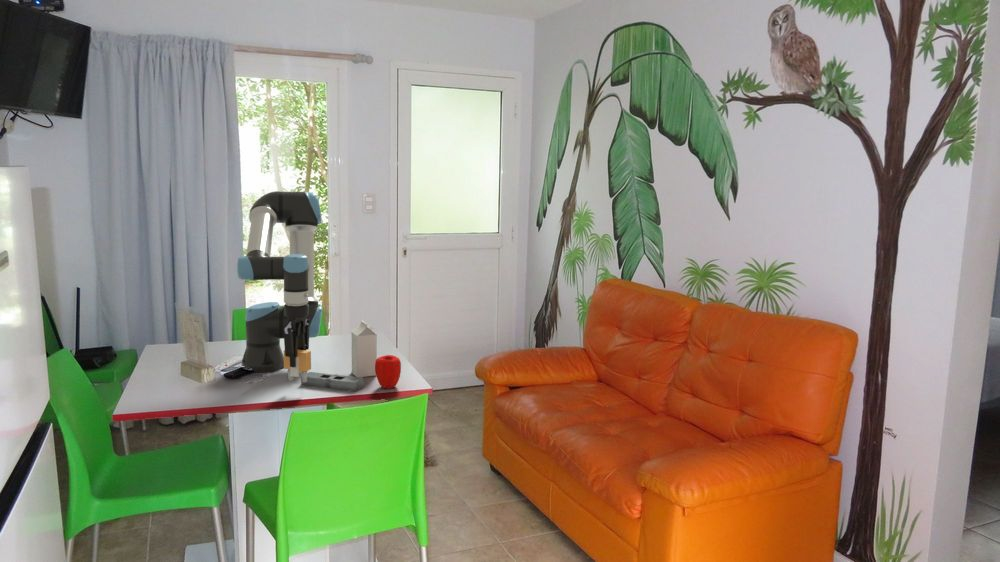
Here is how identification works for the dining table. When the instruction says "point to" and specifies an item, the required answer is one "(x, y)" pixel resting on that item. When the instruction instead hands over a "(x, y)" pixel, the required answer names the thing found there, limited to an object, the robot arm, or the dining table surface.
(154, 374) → the dining table surface
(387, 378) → the apple
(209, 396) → the dining table surface
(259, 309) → the robot arm
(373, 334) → the milk carton
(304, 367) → the clip
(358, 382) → the grey flat block
